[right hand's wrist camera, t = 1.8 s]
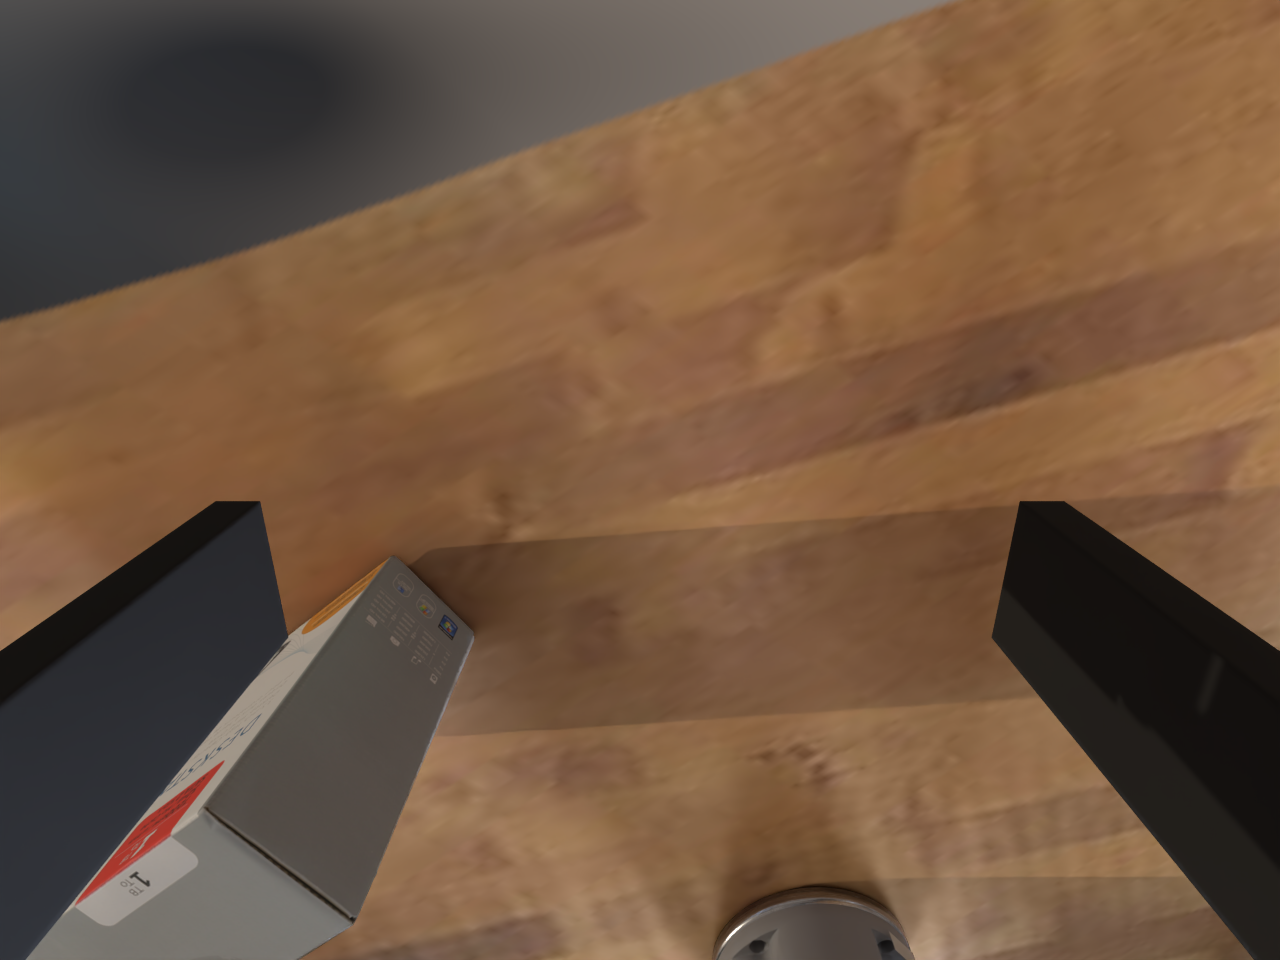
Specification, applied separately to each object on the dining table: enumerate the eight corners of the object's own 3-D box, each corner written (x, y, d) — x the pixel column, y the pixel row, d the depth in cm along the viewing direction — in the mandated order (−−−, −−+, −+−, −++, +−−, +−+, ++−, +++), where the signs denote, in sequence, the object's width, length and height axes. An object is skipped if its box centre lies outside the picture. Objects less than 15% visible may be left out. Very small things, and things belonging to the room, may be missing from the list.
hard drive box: (394, 547, 43) (208, 805, 25) (480, 632, 45) (369, 928, 27) (226, 679, 47) (-48, 993, 28) (313, 753, 49) (113, 1088, 30)
